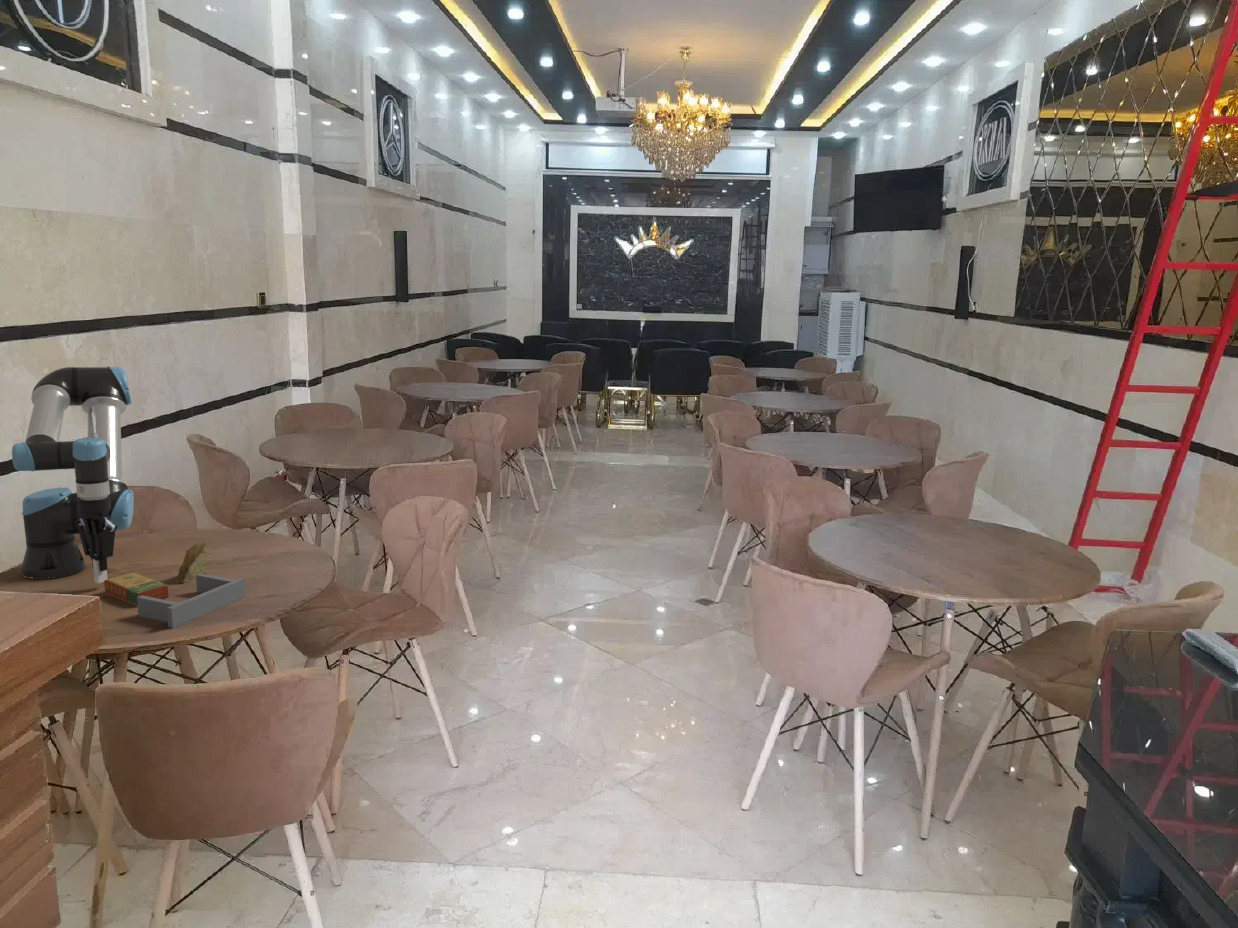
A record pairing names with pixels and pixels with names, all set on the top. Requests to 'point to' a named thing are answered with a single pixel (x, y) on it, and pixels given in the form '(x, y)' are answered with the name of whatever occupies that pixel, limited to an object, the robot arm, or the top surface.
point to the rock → (193, 563)
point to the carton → (135, 588)
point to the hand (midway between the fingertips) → (101, 581)
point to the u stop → (193, 600)
